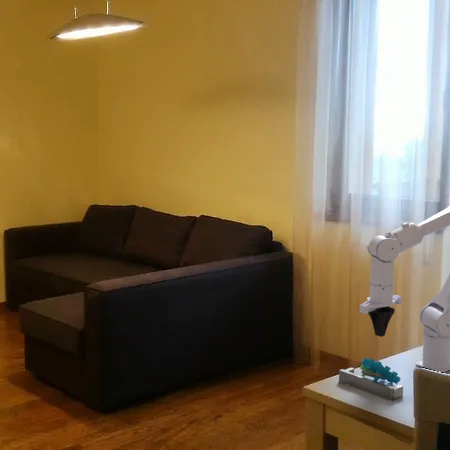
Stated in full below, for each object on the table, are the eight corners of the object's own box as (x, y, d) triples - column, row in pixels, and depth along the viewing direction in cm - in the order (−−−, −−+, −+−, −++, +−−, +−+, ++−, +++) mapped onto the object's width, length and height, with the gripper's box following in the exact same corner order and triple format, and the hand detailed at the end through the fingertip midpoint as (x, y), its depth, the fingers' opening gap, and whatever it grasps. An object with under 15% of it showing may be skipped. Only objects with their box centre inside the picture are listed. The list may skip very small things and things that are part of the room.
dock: (350, 377, 172) (351, 365, 171) (402, 396, 160) (403, 384, 159) (338, 381, 169) (339, 370, 168) (391, 401, 157) (391, 388, 157)
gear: (409, 382, 164) (386, 359, 160) (398, 403, 162) (374, 380, 158) (376, 374, 173) (353, 351, 169) (365, 394, 171) (342, 372, 167)
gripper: (386, 276, 180) (384, 326, 182) (350, 285, 171) (349, 337, 173) (408, 281, 175) (406, 332, 177) (373, 290, 165) (371, 344, 168)
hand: (379, 335), depth 175 cm, fingers closed
